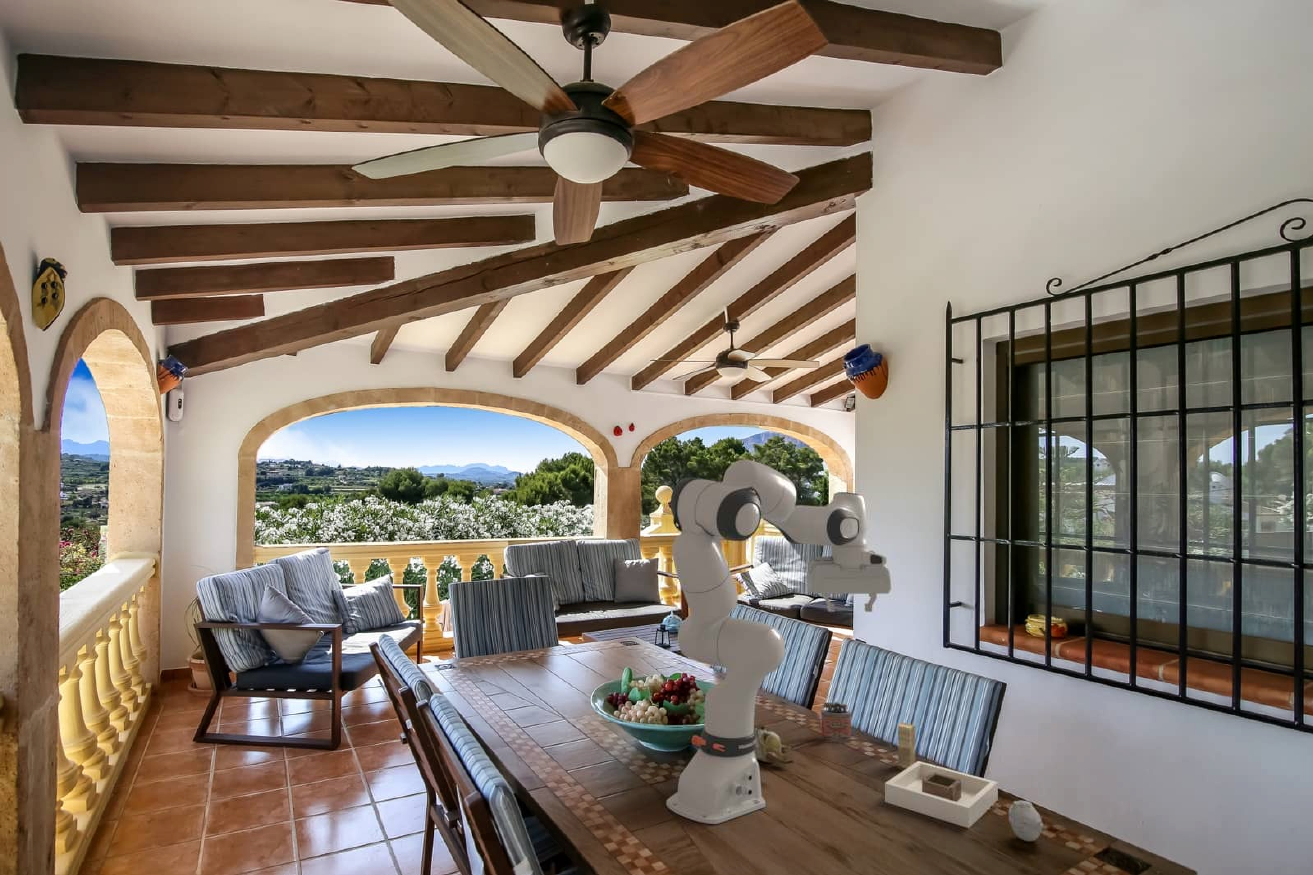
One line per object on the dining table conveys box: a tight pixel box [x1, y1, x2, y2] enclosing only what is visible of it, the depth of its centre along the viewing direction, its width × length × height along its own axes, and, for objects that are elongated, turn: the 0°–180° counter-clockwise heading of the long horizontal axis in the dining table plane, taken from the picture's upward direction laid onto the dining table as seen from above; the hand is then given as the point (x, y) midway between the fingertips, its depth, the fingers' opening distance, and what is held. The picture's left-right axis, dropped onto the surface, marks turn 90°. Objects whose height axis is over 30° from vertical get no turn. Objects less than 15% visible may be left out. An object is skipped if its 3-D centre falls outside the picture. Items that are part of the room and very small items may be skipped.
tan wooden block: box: [897, 722, 916, 769], centre depth 185 cm, size 3×3×10 cm
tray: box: [884, 760, 999, 829], centre depth 165 cm, size 18×18×4 cm
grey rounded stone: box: [1008, 800, 1044, 842], centre depth 148 cm, size 6×7×7 cm
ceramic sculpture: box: [754, 725, 796, 766], centre depth 188 cm, size 11×9×15 cm
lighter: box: [820, 701, 852, 743], centre depth 203 cm, size 8×3×10 cm, turn 84°
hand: (849, 611), depth 189 cm, fingers open, 8 cm apart
